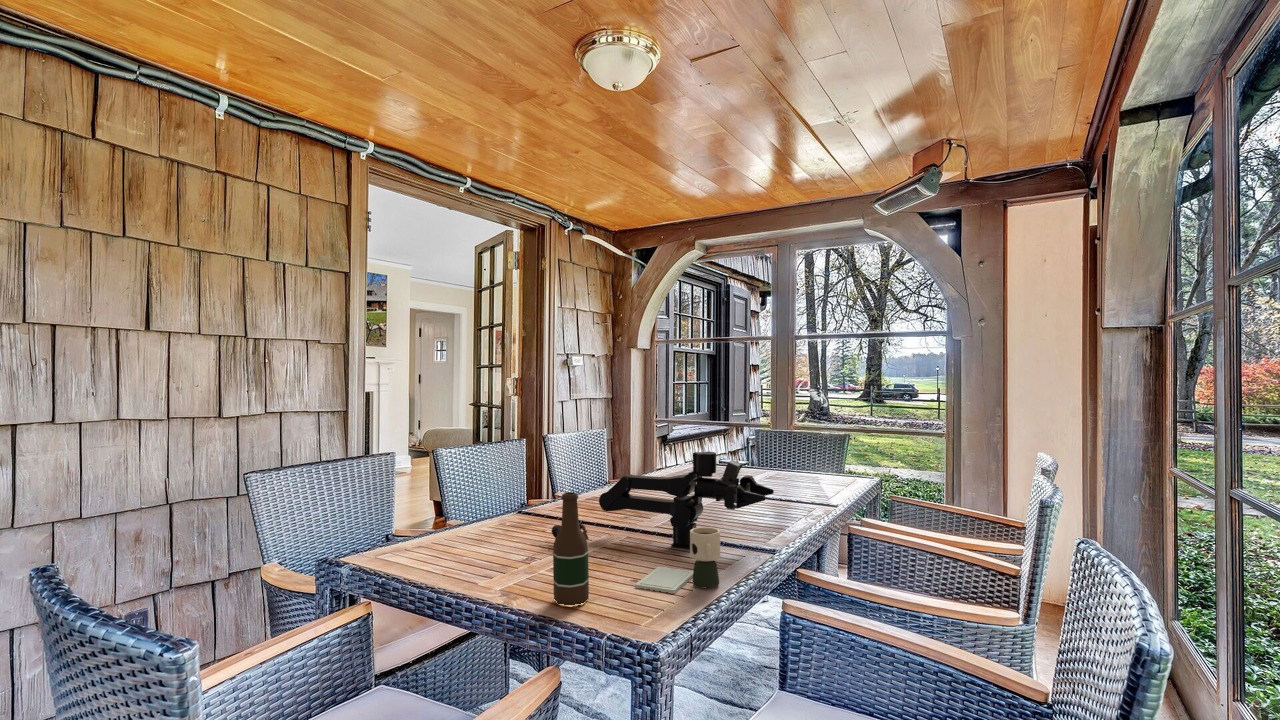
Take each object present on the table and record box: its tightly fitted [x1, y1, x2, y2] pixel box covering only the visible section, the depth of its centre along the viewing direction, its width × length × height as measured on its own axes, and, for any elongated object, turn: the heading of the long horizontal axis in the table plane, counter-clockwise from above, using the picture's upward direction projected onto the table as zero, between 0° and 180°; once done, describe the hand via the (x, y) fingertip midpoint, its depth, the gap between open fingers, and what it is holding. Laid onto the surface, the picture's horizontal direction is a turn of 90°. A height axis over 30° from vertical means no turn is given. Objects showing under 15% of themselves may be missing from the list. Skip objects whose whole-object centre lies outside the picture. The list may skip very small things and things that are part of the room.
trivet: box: [634, 566, 694, 594], centre depth 144 cm, size 10×14×1 cm
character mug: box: [689, 526, 721, 589], centre depth 140 cm, size 11×7×13 cm, turn 2°
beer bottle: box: [552, 491, 590, 605], centre depth 132 cm, size 8×8×24 cm
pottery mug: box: [550, 522, 589, 540], centre depth 174 cm, size 12×10×8 cm
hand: (769, 494), depth 163 cm, fingers open, 9 cm apart
